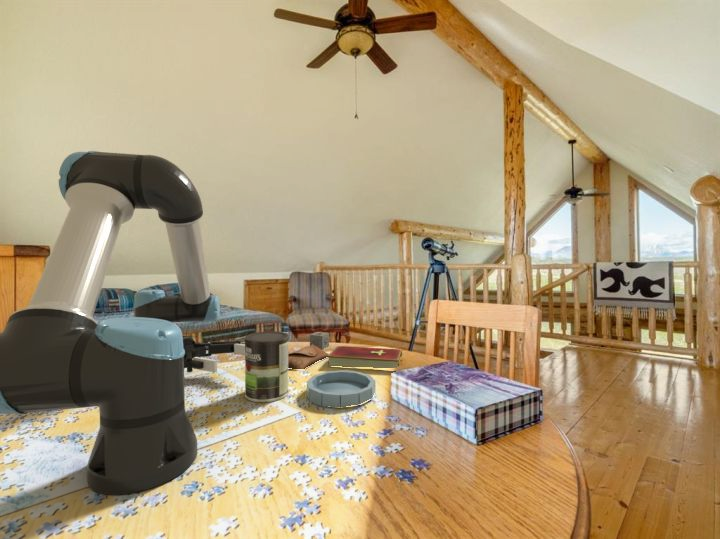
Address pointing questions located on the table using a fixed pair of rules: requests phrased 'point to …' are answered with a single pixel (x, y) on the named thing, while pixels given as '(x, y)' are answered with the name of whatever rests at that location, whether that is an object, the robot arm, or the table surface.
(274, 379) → the coffee can
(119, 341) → the robot arm
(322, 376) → the bowl
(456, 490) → the table surface
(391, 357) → the hardcover book
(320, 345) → the dice cube
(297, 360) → the sunglasses case
